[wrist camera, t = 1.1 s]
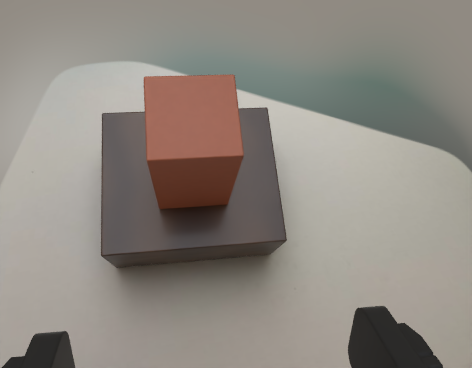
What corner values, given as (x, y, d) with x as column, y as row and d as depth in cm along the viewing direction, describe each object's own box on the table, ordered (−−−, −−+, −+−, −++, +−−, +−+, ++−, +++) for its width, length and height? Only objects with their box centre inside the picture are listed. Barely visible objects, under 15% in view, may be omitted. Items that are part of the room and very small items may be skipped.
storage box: (255, 139, 38) (267, 107, 32) (271, 254, 34) (287, 240, 29) (115, 145, 36) (101, 112, 30) (116, 268, 32) (100, 256, 27)
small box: (222, 142, 31) (234, 74, 22) (228, 204, 29) (244, 155, 21) (156, 145, 30) (143, 75, 21) (159, 209, 28) (146, 161, 20)
